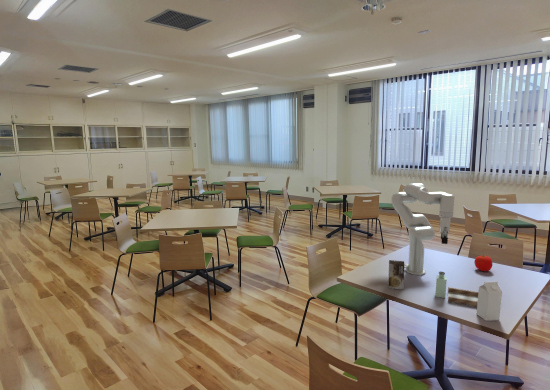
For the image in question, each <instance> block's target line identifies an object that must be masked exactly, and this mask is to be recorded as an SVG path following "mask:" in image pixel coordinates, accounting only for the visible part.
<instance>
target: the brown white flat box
mask: <svg viewBox="0 0 550 390" xmlns="http://www.w3.org/2000/svg"><path fill="white" fill-rule="evenodd" d="M478 292H479V291H475V290H469V289H463V288H462V289H461V288H455V287H449V286H448V289H447V302H448V303H452V304H458V305H463V306H468V307H473V308H477V303H478Z"/></svg>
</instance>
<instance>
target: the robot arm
mask: <svg viewBox="0 0 550 390" xmlns="http://www.w3.org/2000/svg"><path fill="white" fill-rule="evenodd" d="M417 201H418V202H419V203H422V204H426V205H439V212H438V213H439V214H438V217H439V218H440V219H439V220H440V221H439V233H440V240H441V244H443V245H448V243H449V242H448V241H449V238H448V236H449V234H450V228H451V221H452V220H451V219H453V218H454V209H455V207H454V206H455V194H450V193H447V192H444V191H432V192H431V191H430V192H429V191H428V189H427V187H426V186H425V185H424V183H419V182H418V183H408V184H406V185H405V186H404V187H403V191H399V192H395V193H393V194H392V196H391V205H392V208H394V210H395V211H396V213H397V214H398V216H399V217H400V220H401V221H402V223H403V224H404V226H405V227H406V228H407V229H409V230H408V241H409V247H408V250H409V251H408V263H404V264H405V265H404V269H405V271H406V273H408V274H411V275H417V276H423V275H425V274H426V270H425V268H424V263H425V262H424V261H425V245H424V243H423V241H424V242H425V241H431V240H433V239H434V238H435V236H436V232H435V229H434V227H433V226H432V224H431V223H430V221H429V220H428V218H427V217H426V215H424V214H423V213H416V214H415V213H413V212H412V210H411V209H410V207H409V206H407V205H406V204H413V203H416V202H417Z"/></svg>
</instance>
